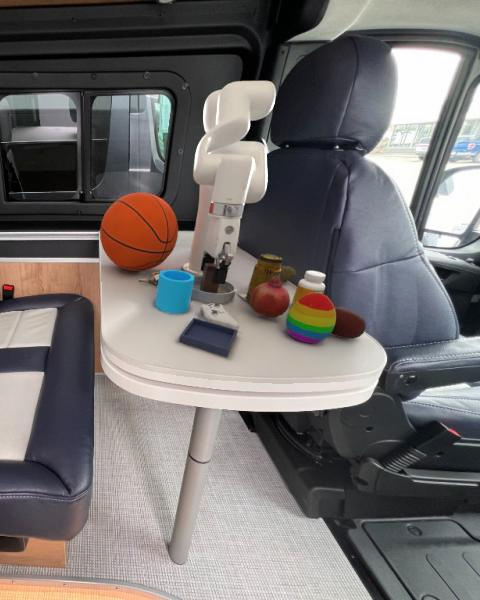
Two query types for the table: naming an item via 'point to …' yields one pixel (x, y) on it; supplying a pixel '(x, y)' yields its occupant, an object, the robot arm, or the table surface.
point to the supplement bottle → (309, 285)
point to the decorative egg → (311, 318)
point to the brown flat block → (209, 280)
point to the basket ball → (139, 231)
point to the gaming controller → (218, 315)
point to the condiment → (263, 272)
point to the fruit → (270, 299)
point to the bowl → (213, 297)
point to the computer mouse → (155, 278)
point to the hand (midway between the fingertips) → (211, 277)
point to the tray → (209, 337)
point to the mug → (174, 291)
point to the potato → (348, 324)
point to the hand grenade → (286, 273)
